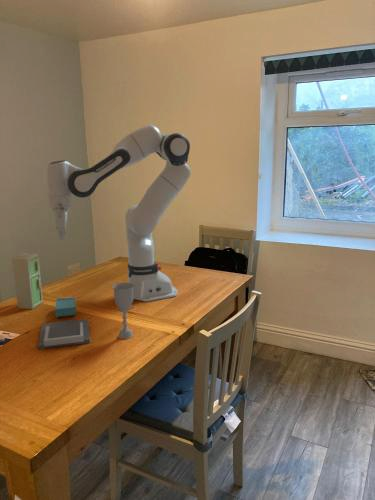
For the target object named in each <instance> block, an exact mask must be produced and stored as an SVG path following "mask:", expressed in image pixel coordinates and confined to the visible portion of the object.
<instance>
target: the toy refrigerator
mask: <svg viewBox="0 0 375 500" xmlns="http://www.w3.org/2000/svg"><path fill="white" fill-rule="evenodd" d="M12 266H13V275H14V285H15V293H16V300H17V302H16V303H17V307H18V309H25V310H26V309H27V310H33V309H34V308H36V307H38V306H39V305H41V304H42V303H43V302H44V298H43V289H42V279H41V267H40V258H39V254H38V253H28V252H27V253H26V252H24V253H22V254H19V255H17V256H15V257H13V258H12Z"/></svg>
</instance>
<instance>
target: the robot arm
mask: <svg viewBox="0 0 375 500" xmlns="http://www.w3.org/2000/svg"><path fill="white" fill-rule="evenodd" d="M190 150H191V144H190V141H189V139H188V138H187V136H186V135H184V134H182V133H178V132H173V133H168V134H163V133H162V132H161V131H160V129H159V128H158V127H156V126H155V125H153V124H147V125H143V126H142V127H140V128H138V129H136V130H134V131H131V133H129V134H127V135H126V136H124V137H123V138H122V139H121V140H120V141H119V142H117V143H116V145H115V146H114V148H113V149H112V151H110V153H109V155H107V156H106V157H105V158H103V159H102V160H100V161H99V162H97V163H96V164H94V165H92V167H89V168H87V169H86V168H85V169H84V168H81V167H78V166H76V165H74V164H72V163H70V162H69V161H68V160H65V159H63V160H58V161H51V162H50V163H49V164H48V165H47V169H46V184H47V187H48V193H47V198H48V200H47V201H48V208H51V210H52V212H54V220H55V221H54V222H55V230H58V235H59V240H64V239H65V234H66V228H67V222H68V212H69V211H70V208H72V207H73V202H72V199H73V197H72V195H73V196H75V197H77V198H87V197H90V196H91V195H92V194H93V193H94V192H95V190H97V187H98V186H99V184H100V183H102V181H105V180H106V179H107V178H108V177H110V176H112V175H113V174H115V173H116V172H118V171H120V170H121V169H124V168H127V167H130V166H132V165H135V164H136V163H139V162H140V161H142V160H144V159H145V158H147V157H149V156H150V155H151V154H153V153H154V154H157V155H158V156H159V157H160V158H161V159H163V160H164V161H166V164H165V166H164V168H163V170H162V171H161V172H160V173H159V174H158V176H157V177H156V178H155V180H154V181H152V183H151V184H150V186H149V187H148V189H147V190H146V192H145V193H144V195H143V196H142V198H141V200H140V201H139V203H138V204H134V205H131V206H130V207H128V209H127V210H126V212H125V229H126V241H127V252H128V253H127V254H128V256H127V258H128V264H127V277H128V282H127V283H133V284H134V287H133V300H138V301H141V302H152V301H156V300H164V299H169V298H174V297H176V296H178V290H177V288H176V287H175V286H173V284H172V280H171V278H169V276H167V275H166V274H165V273H163V272H161V270H162V266H161V265H159V263H157V262H155V245H154V240H153V239H154V238H153V231H154V230H155V229H156V226H157V225H158V223H159V221H161V218H162V216H163V215H164V213H165V211H167V209H168V207H169V206H170V204H171V203H172V202H173V201H174V199H175V198H176V197H177V196H178V194H179V193H180V192H181V191H182V189H183V188H184V187H185V185H186V183H187V182H188V180H189V178H190V177H191V174H192V171H191V167H190V165H189V164H188V163H187V162H188V160H189V154H190Z"/></svg>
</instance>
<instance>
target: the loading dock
mask: <svg viewBox="0 0 375 500" xmlns="http://www.w3.org/2000/svg"><path fill="white" fill-rule="evenodd" d="M90 343H91V342H90V327H89V318H82V319H81V318H80V319H74V320H73V319H72V320H63V321H56V322H55V321H54V322H47V323H45V322H44V323H42V326H41V329H40V333H39V340H38V342H37V349H38V350H41V349H42V350H43V349H44V350H45V349H49V348H50V349H51V348H52V349H53V348H58V347H66V346H74V345H82V344H90Z"/></svg>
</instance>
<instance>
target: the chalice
mask: <svg viewBox="0 0 375 500" xmlns="http://www.w3.org/2000/svg"><path fill="white" fill-rule="evenodd" d="M133 287H134V284H133V283H128V282H118V283H116V284H115V283H114V284H113V285H112V289H113V295H114V297H113V298H114V303H115V305H116V306H117V309H118V310H119V312H120V313H122V324H123V325H122V326H123V327H122V328H121V329H120V330H119V333H118V335H117V337H118V339H121V340H126V339H127V340H128V339H131V338H132V337H134V334H133V333H132V330H131V329H130V328H129V327H128V326H127V324H128V321H127V319H128V316H127V313H128V312H129V311H130V309H131V307H132V304H133V301H134V299H133Z"/></svg>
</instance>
